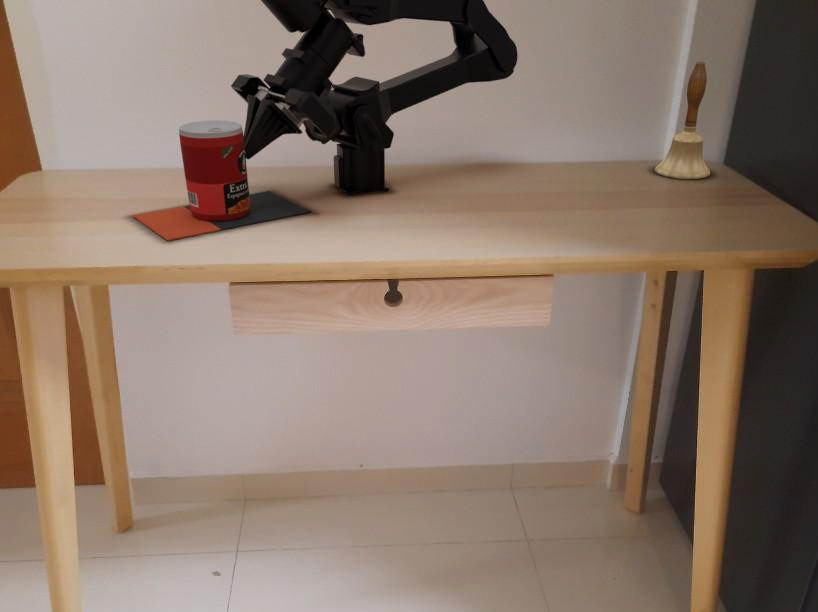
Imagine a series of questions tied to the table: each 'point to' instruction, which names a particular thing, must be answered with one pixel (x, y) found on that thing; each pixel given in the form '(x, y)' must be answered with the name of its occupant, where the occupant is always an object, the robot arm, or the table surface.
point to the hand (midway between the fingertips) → (244, 156)
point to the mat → (263, 210)
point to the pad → (175, 223)
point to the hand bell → (688, 136)
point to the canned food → (215, 169)
